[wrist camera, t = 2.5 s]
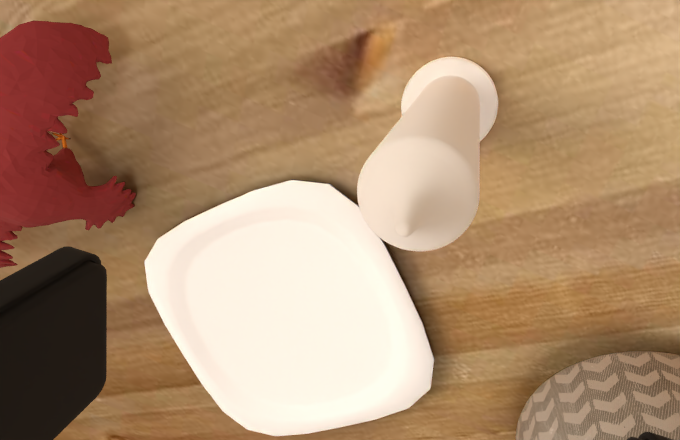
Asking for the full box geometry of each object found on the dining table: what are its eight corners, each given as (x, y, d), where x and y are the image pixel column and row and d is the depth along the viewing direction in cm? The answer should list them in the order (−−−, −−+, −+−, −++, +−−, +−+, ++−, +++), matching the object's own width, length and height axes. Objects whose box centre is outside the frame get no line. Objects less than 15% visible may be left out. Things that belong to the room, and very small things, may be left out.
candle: (447, 35, 36) (394, 61, 14) (519, 101, 36) (581, 233, 14) (383, 109, 39) (253, 229, 17) (449, 169, 40) (409, 366, 17)
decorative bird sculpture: (185, 51, 46) (-7, -33, 36) (210, 109, 41) (-8, 31, 30) (77, 251, 58) (-90, 232, 48) (84, 317, 53) (-101, 311, 43)
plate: (246, 438, 56) (240, 449, 55) (127, 244, 51) (116, 251, 49) (461, 391, 47) (461, 404, 45) (344, 147, 41) (339, 151, 40)
